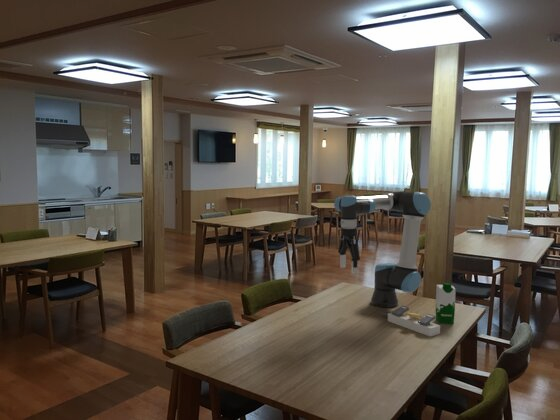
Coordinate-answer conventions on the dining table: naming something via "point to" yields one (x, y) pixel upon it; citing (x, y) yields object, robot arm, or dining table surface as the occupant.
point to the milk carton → (445, 303)
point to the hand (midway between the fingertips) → (348, 270)
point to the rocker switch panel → (413, 324)
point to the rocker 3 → (426, 319)
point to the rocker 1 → (400, 310)
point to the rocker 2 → (413, 315)
